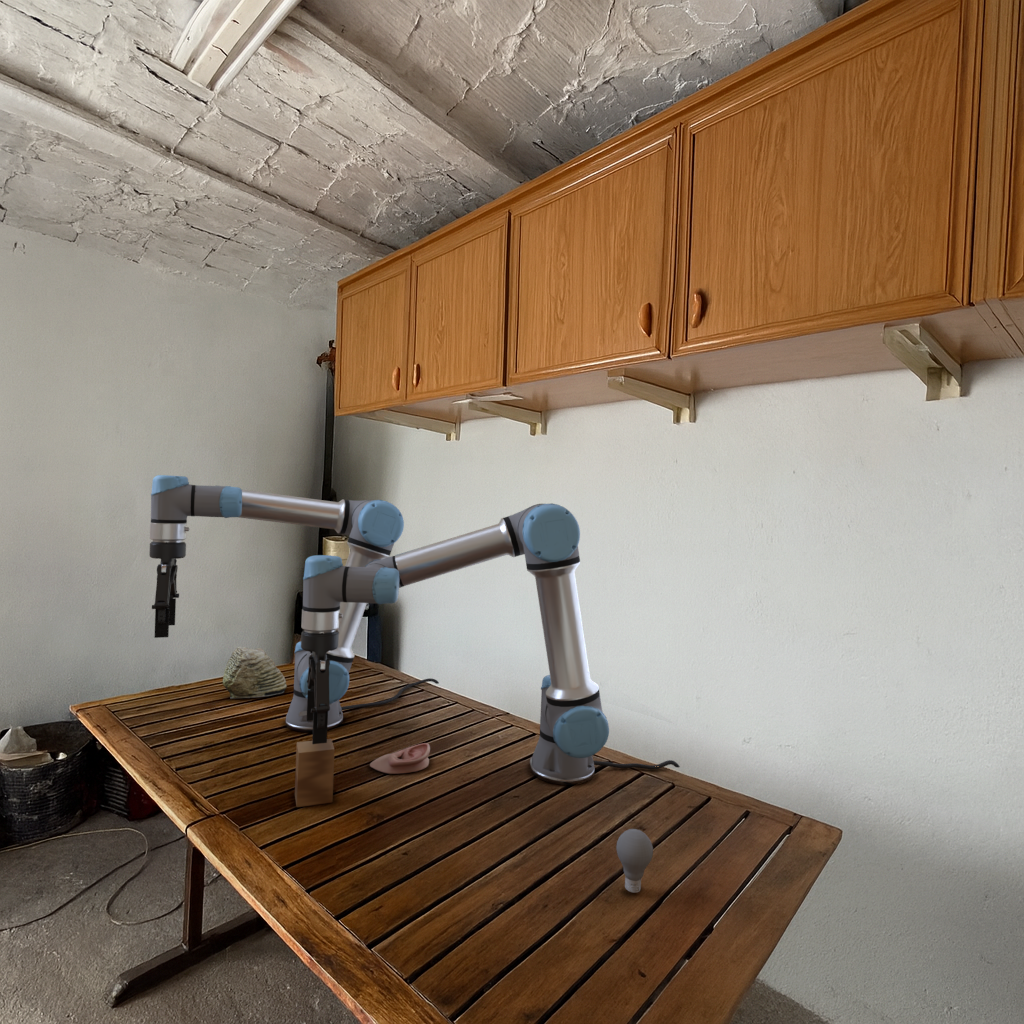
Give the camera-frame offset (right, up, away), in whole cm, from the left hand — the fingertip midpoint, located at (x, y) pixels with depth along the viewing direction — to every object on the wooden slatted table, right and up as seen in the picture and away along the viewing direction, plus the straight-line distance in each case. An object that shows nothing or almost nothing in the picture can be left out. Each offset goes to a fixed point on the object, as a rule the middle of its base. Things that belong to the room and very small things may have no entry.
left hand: (165, 631), depth 149 cm
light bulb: (+102, -35, -43) cm, 116 cm away
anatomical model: (+55, -32, +2) cm, 64 cm away
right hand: (+41, -18, -17) cm, 47 cm away
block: (+40, -32, -16) cm, 54 cm away
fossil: (+1, -29, +49) cm, 57 cm away
